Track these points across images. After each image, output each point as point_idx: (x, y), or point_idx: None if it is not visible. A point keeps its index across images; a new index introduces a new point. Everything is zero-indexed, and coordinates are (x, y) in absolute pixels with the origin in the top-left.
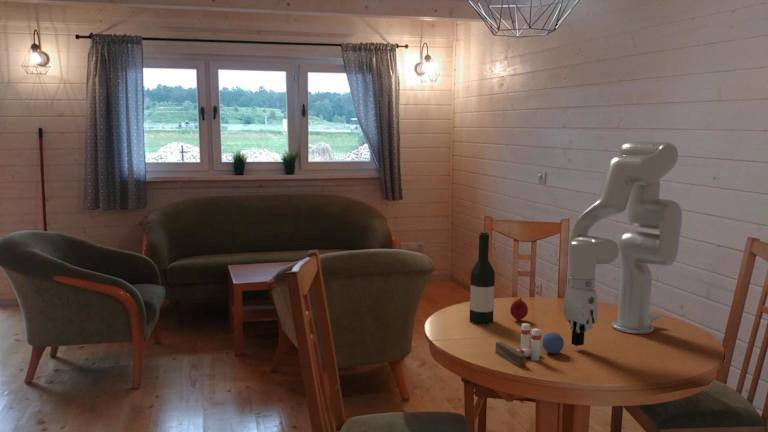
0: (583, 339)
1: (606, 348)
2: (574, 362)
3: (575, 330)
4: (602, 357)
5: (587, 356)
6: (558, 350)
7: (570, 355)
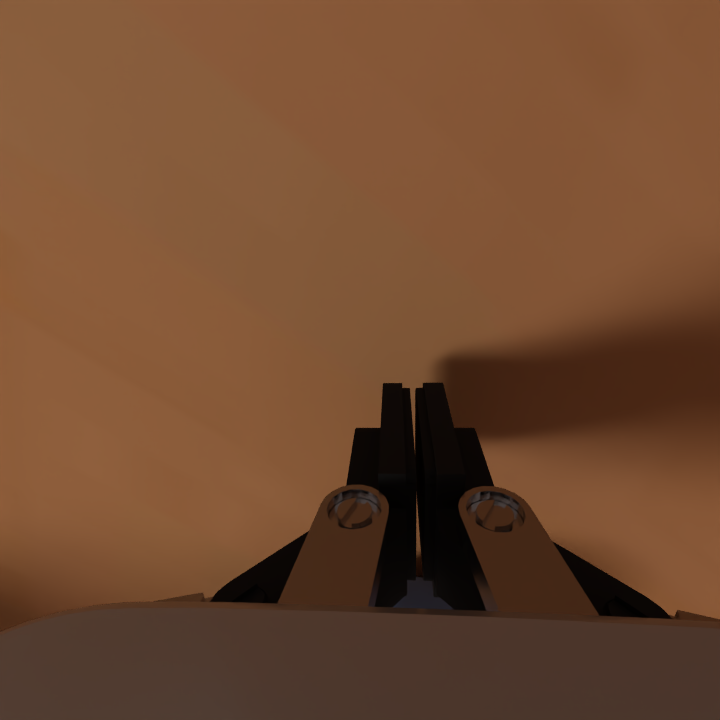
0: (448, 415)
1: (511, 72)
2: (634, 580)
3: (406, 578)
4: (696, 326)
5: (593, 431)
6: None
7: None
